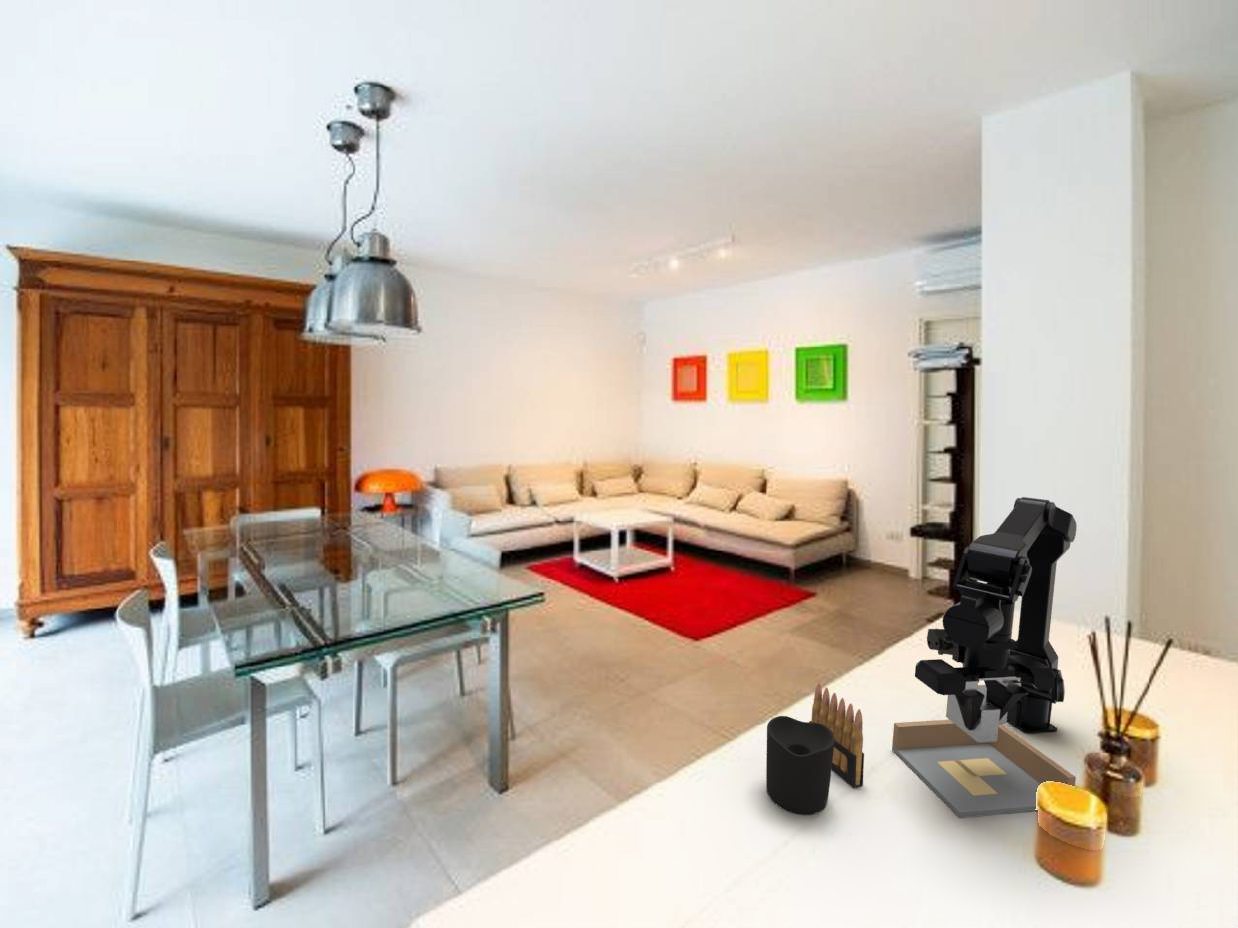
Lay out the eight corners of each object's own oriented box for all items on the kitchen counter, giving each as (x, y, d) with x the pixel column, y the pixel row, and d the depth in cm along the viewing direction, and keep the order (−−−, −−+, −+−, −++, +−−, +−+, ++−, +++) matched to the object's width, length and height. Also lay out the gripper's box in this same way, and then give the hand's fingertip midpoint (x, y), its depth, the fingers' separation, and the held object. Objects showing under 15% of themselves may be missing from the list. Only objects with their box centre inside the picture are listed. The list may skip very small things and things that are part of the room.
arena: (988, 743, 101) (991, 716, 101) (1072, 807, 86) (1075, 776, 85) (891, 749, 99) (894, 722, 98) (959, 817, 83) (962, 785, 83)
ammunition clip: (863, 785, 90) (868, 711, 88) (853, 788, 89) (859, 713, 88) (815, 746, 99) (819, 678, 98) (806, 748, 99) (810, 680, 97)
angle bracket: (1027, 739, 88) (1030, 707, 87) (978, 742, 86) (981, 710, 86) (991, 713, 94) (994, 684, 94) (945, 716, 93) (948, 686, 93)
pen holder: (795, 826, 81) (799, 758, 80) (750, 785, 89) (753, 723, 88) (844, 805, 85) (849, 740, 84) (797, 768, 93) (800, 709, 92)
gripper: (1002, 606, 96) (993, 697, 98) (896, 610, 93) (889, 703, 95) (1063, 634, 85) (1051, 735, 87) (944, 639, 82) (935, 744, 84)
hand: (978, 728), depth 88 cm, fingers closed on angle bracket, 3 cm apart
